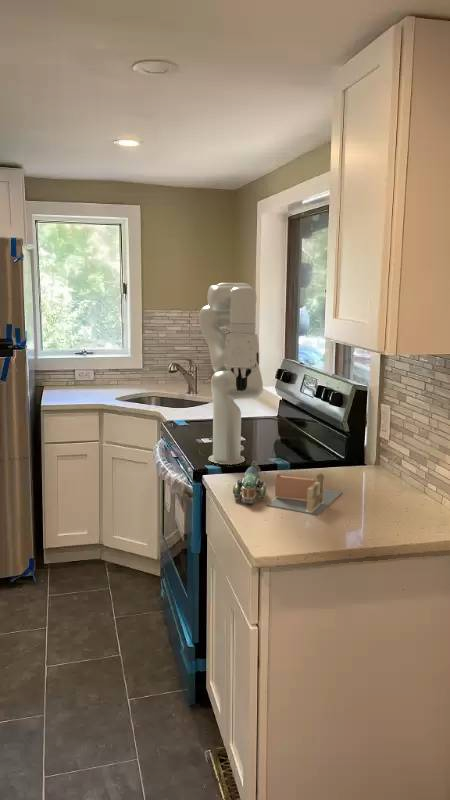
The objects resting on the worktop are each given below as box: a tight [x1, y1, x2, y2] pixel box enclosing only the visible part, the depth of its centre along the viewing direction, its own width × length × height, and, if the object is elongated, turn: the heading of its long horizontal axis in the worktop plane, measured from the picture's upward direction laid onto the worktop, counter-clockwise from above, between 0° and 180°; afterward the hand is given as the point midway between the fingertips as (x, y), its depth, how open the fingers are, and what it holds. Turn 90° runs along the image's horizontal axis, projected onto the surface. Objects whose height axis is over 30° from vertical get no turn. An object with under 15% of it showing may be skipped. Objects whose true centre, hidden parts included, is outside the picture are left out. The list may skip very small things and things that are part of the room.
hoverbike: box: [232, 460, 267, 506], centre depth 190 cm, size 10×25×8 cm, turn 172°
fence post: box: [307, 472, 325, 511], centre depth 178 cm, size 10×2×9 cm, turn 152°
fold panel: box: [274, 472, 316, 500], centre depth 183 cm, size 11×1×7 cm, turn 73°
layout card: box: [266, 488, 343, 516], centre depth 185 cm, size 21×15×1 cm
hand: (241, 390), depth 194 cm, fingers closed
